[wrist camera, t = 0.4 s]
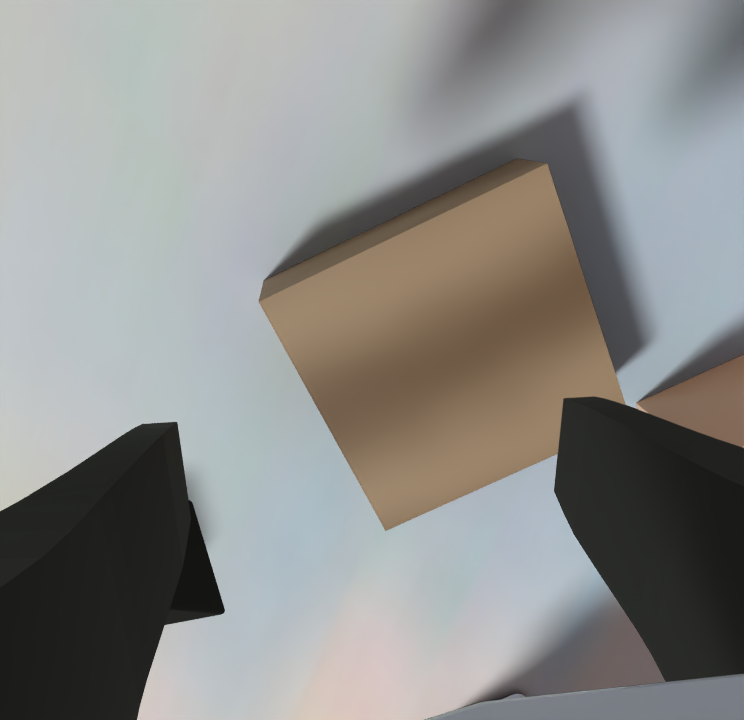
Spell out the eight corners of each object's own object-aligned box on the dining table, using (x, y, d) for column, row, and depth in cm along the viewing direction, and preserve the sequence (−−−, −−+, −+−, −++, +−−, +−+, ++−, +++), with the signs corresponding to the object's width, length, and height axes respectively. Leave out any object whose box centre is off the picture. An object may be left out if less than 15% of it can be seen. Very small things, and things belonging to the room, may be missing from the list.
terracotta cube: (767, 445, 25) (863, 511, 20) (663, 491, 25) (736, 565, 21) (746, 351, 23) (844, 401, 19) (635, 401, 23) (707, 461, 19)
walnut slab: (591, 385, 23) (630, 420, 20) (375, 482, 24) (385, 530, 21) (513, 157, 20) (547, 163, 17) (264, 277, 20) (258, 301, 18)
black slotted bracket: (231, 465, 23) (215, 541, 19) (268, 616, 26) (261, 713, 21) (-110, 522, 22) (-208, 615, 18) (-36, 671, 25) (-106, 783, 21)
